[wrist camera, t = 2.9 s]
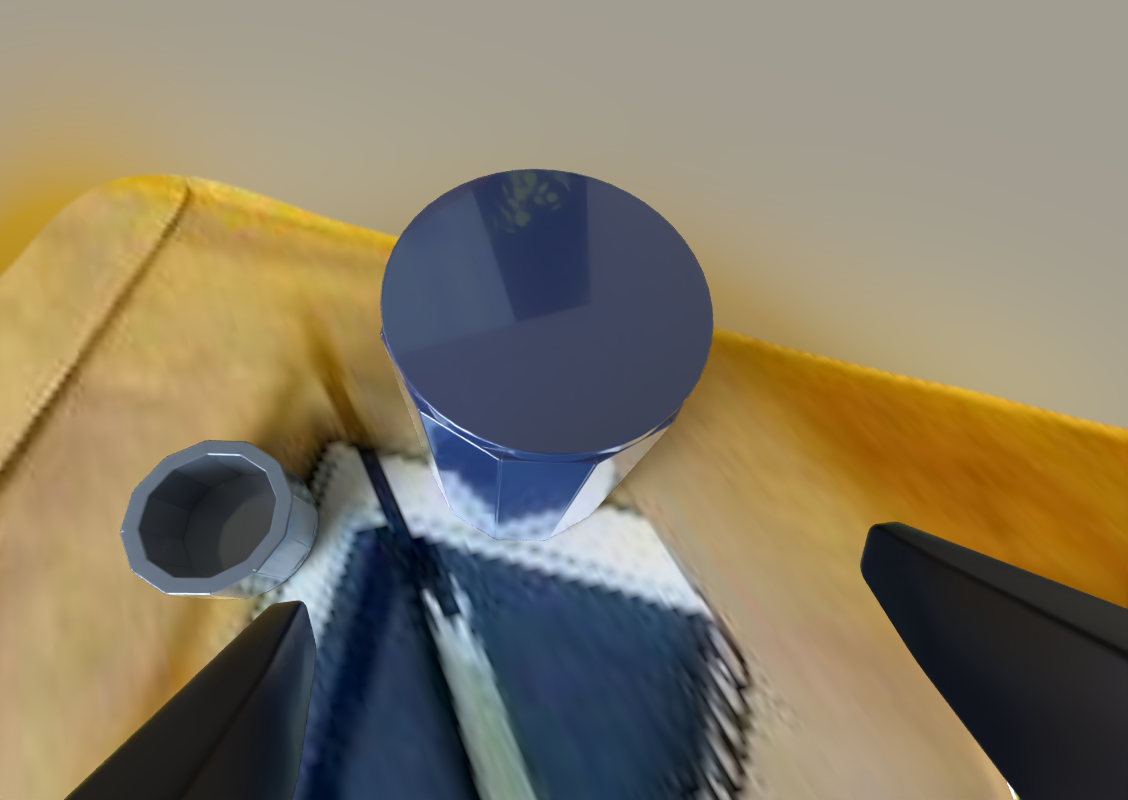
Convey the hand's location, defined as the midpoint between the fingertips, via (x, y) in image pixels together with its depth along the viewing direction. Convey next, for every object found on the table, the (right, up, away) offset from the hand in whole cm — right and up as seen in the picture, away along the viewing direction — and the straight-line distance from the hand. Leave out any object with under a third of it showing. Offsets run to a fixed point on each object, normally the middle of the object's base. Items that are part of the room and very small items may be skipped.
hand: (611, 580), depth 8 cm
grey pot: (-12, -2, +11) cm, 16 cm away
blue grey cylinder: (-2, +1, +13) cm, 14 cm away
